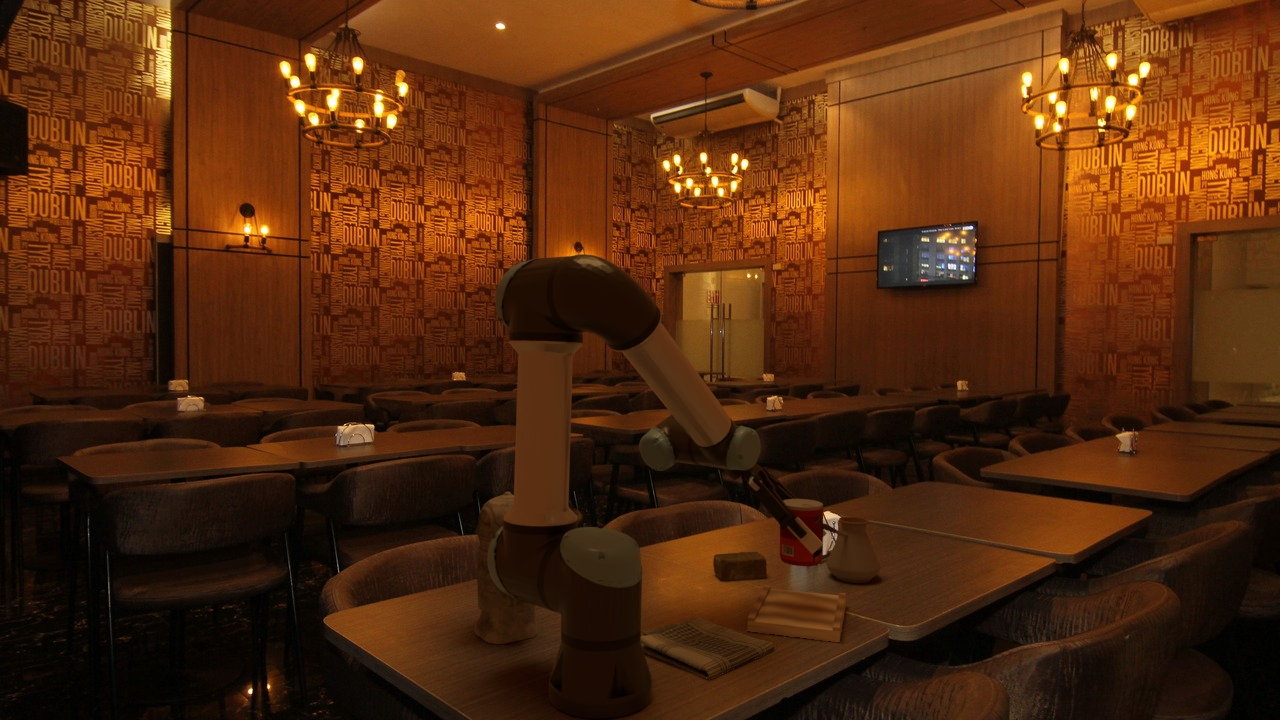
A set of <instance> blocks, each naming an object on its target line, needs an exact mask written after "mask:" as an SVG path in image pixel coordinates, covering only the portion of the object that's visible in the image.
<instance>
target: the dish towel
mask: <svg viewBox="0 0 1280 720" xmlns="http://www.w3.org/2000/svg"><path fill="white" fill-rule="evenodd" d="M641 645H642V648H643V651H644V654H646V655H648V656H651V657H653V656H654V658H656V659H658V658H659V660H660V661H663V660H664V661H663V662H665V661H666V663H668V662H669V663H668V664H671V665H673V664H674V665H673V666H675V665H676V666H675V667H677V666H678V668H679V667H680V668H679V669H682V670H684V669H685V671H687V672H689V671H690V673H691V672H692V673H691V674H694V673H695V674H694V675H696V674H698V675H697V676H699V675H700V676H699V677H701V676H703V677H702V678H703V679H705V678H706V677H707V679H706V680H708V679H710V680H712V678H713V679H715V678H717V677H719V676H718V675H720V676H721V674H722V673H724V674H726V673H728V672H727V671H729V670H731V669H733V668H735V669H737V668H736V667H738V666H740V665H742V664H744V665H746V664H747V663H746V662H748V661H750V662H752V661H751V660H753V659H755V658H757V657H760V656H762V655H764V654H766V655H768V654H770V653H771V652H770V651H772V650H774V649H775V646H774V643H773V642H772V641H768V640H764V639H760V638H755V637H753V636H750V635H747V634H744V633H740V632H738V631H736V630H734V629H731V628H729V627H726V626H722V625H720V624H717V623H714V622H711V621H709V620H708V619H706V618H705V617H699V618H697V617H690V618H688V619H685V620H682V621H681V622H677V623H673V624H671V623H670V624H667V625H664V626H662V627H658V628H655V629H651V630H647V631H646V630H645V631H642V635H641ZM774 651H775V650H774ZM769 652H770V653H769ZM772 652H773V651H772ZM767 653H768V654H767ZM764 656H765V655H764ZM762 657H763V656H762ZM760 658H761V657H760ZM757 659H758V658H757ZM755 660H756V659H755ZM753 661H754V660H753ZM745 663H746V664H745ZM748 663H749V662H748ZM742 666H743V665H742ZM740 667H741V666H740ZM738 668H739V667H738ZM733 670H734V669H733ZM731 671H732V670H731ZM725 672H726V673H725ZM729 672H730V671H729ZM722 675H723V674H722ZM716 676H717V677H716ZM714 677H715V678H714Z"/></svg>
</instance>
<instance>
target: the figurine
mask: <svg viewBox="0 0 1280 720" xmlns="http://www.w3.org/2000/svg"><path fill="white" fill-rule="evenodd" d="M513 505H514V494H512V493H511V492H510V491H505V492H504V493H503V494H501V495H499V496H495V497H493V498H490V499H489V500H488V501H487V502H485V503H483V506H482V508H481V510H480V513H479V515H478V521H477V524H476V525H477V526H476V529H475V531H474V533H475V534H476V536H477V538H478V541H479V546H478V547H477V553H476V555H477V557H476V558H477V565H476V583H477V607H478V609H479V610H481V611H480V615H479V618H478V619H477V620H476V621H475V625H474V634H475V635H476V636H477V637H479V638H480V639H481V640H483V641H484V642H485V643H487V644H488V643H489V644H493V645H494V644H495V645H500V644H501V645H504V644H509V643H513V642H520V641H523V640H526V639H531V638H534V637H535V636H538V635H539V627H538V625H537V624H536V623H535V622H536V621H535V620H536V605H533V604H530V603H526V602H521V601H518V600H516V599H514V598H513V597H512V596H510V595H507V594H506V593H504V592H502V591H501V590H500V589H499V588H498V587H497V586H496V585H495V583H494V582H493V580H492V578H491V576H490V573H489V569H488V561H487V559H488V550H489V546H490V543H491V540H492V539H494V538H495V537H496V535H495V534H496V532H497V531H498V530H499V529H500V528H501V527H502V526H503V518H504V515H505V514H506V513H507V512H508V511H509V510H510V509H511V508H512V507H513Z"/></svg>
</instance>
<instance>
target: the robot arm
mask: <svg viewBox="0 0 1280 720" xmlns="http://www.w3.org/2000/svg"><path fill="white" fill-rule="evenodd" d="M495 310H496V314H497V316H498V318H499V319H501V323H502V325H503V326H504V327H505V328H507V329H508V344H509V345H510V346H511V347H512V348H513V349H514V351H515V352H516V353H517V355H518V356H517V385H516V387H517V388H516V417H515V418H516V419H515V421H516V422H515V425H516V426H515V445H514V446H515V449H514V450H515V451H514V452H515V453H514V480H513V481H514V486H513V489H514V490H513V495H514V505H513V507H512V508H511V509H510V510H509V511H508V512H507V513H506V514H505V515H504V518H503V526H502V527H501V528H500V529H499V530H498V531H497V532H496V534H495V535H496V537H495V538H494V539H492V540H491V543H490V546H489V550H488V559H487V561H488V569H489V573H490V576H491V578H492V580H493V582H494V583H495V585H496V586H497V587H498V588H499V589H500V590H501V591H502V592H504V593H506V594H507V595H510V596H512V597H513V598H514V599H516V600H518V601H521V602H526V603H530V604H533V605H535V607H540V608H541V609H542V608H543V609H545V610H548V611H551V612H554V613H556V614H560V617H561V618H560V646H559V649H558V651H557V653H556V654H557V655H556V657H555V661H554V664H553V667H552V669H551V672H550V676H549V680H548V700H549V702H550V704H551V705H552V706H553V707H554V708H555V709H557V710H558V711H560V712H562V713H565V714H567V715H570V716H574V717H579V718H585V719H586V718H587V719H612V718H619V717H624V716H628V715H630V714H634V713H636V712H639V711H640V710H642V709H644V708H645V707H646V706H648V704H649V703H650V702H651V700H652V698H653V677H652V673H651V671H650V667H649V664H648V661H647V657H646V655H645V653H644V651H643V648H642V645H641V636H642V631H641V630H642V628H641V627H642V593H643V592H642V591H643V589H642V588H643V587H642V585H643V579H642V578H643V565H642V557H641V556H642V554H641V550H640V546H639V544H638V542H637V541H636V540H635V539H634V538H633V537H631V536H630V535H629V534H626V533H624V532H621V531H618V530H616V529H615V530H614V529H611V528H606V527H605V528H599V527H596V526H586V527H585V526H584V527H578V515H577V514H575V512H574V511H573V510H572V509H571V508H570V506H569V497H570V494H569V491H570V490H569V489H570V466H571V465H570V460H571V458H570V457H571V432H572V431H571V430H572V429H571V425H572V424H571V423H572V401H573V400H572V397H573V394H572V393H573V390H572V389H573V366H574V365H573V361H574V355H575V354H576V352H577V351H578V350H579V349H581V348H582V347H583V345H584V333H589V334H591V335H594V336H597V337H598V338H600V339H602V340H603V342H605V343H606V345H607V347H608V348H610V350H612V351H614V352H618V353H622V354H623V356H624V357H626V359H627V360H628V362H629V363H630V364H631V365H632V366H633V368H634V369H635V370H636V372H637V373H638V374H639V375H640V376H641V378H642V379H643V381H644V382H645V383H646V384H647V385H648V386H649V388H650V389H651V390H652V391H653V393H654V394H655V395H656V396H657V398H658V399H659V400H660V401H661V403H662V404H663V405H664V407H666V409H667V410H668V413H670V414H669V415H668V416H667V417H666V418H664V419H663V420H662V421H660V422H658V423H657V424H656V425H655V426H653V427H651V428H650V429H649V431H647V433H645V434H644V435H643V436H641V439H640V440H639V442H638V443H639V444H638V449H639V453H640V457H641V458H642V460H643V461H644V463H645V464H646V465H647V466H648V467H649V468H650V469H653V470H655V471H660V472H662V471H665V470H668V469H669V468H671V467H673V466H674V465H675V464H677V463H681V464H689V465H697V466H705V467H712V468H718V469H722V470H723V471H724V472H725V473H726V475H728V476H729V477H730V479H732V481H737V480H738V479H739V478H741V476H743V478H744V479H745V480H746V481H747V482H746V483H747V484H746V485H745V488H746V489H747V490H748V491H750V493H752V495H753V496H755V498H756V499H757V500H758V501H759V502H760V504H761V505H762V506H763V507H764V508H765V509H766V510H767V511H768V512H769V514H770V515H771V516H772V517H773V518H774V520H776V522H778V524H779V526H780V525H781V528H782V529H783V530H784V529H785V528H786V527H787V528H788V529H789V530H790V531H791V532H792V533H793V534H794V535H795V536H796V537H797V539H798V540H799V541H800V542H801V543H802V544H803V545H804V546H805V547H806V548H807V549H808V550H809V551H810V552H811V553H812V554H813V553H814V552H815V551H817V550H818V549H819V548H820V547H821V546H822V545H823V546H824V542H823V543H822V542H821V541H820V540H819V538H818V537H817V536H816V535H815V534H814V533H813V532H812V531H811V530H810V529H809V528H808V527H807V526H806V525H805V524H804V523H803V522H802V520H801V519H800V518H799V517H797V518H796V516H795V515H794V514H793V513H792V512H791V510H790V509H789V508H788V507H787V505H786V504H785V503H784V501H783V500H787V499H798V497H797V496H796V495H795V494H793V492H792V491H791V490H790V489H788V488H787V486H786V485H785V484H783V482H781V481H780V480H779V479H778V477H776V476H775V475H774V474H773V472H771V470H770V469H769V468H768V467H767V466H764V467H761V466H760V464H758V463H757V462H758V461H759V459H761V457H762V452H761V439H760V436H759V434H758V432H757V431H756V430H755V429H753V428H752V427H747V426H744V425H740V426H739V425H737V424H736V423H735V422H734V420H733V419H732V417H730V415H729V414H728V413H727V411H726V410H725V408H724V407H723V405H722V404H721V403H720V401H719V400H718V399H717V397H716V395H714V393H713V392H712V390H711V389H710V388H709V386H708V385H707V384H706V382H705V381H704V380H703V378H702V377H701V375H700V374H699V372H698V371H697V369H696V368H695V367H694V365H693V364H692V363H691V362H690V361H689V359H688V357H687V356H686V355H685V353H684V352H683V351H682V349H681V348H680V347H679V345H678V344H677V342H676V341H675V340H674V339H673V337H672V335H670V333H669V332H668V330H667V329H666V327H665V326H664V325H663V323H662V311H661V309H660V307H659V306H658V304H656V302H655V301H654V299H652V298H651V296H650V295H649V293H648V292H647V291H646V290H645V288H644V287H642V286H641V285H640V284H639V283H638V282H637V280H635V279H634V278H633V277H632V276H631V275H629V274H628V273H627V272H626V271H625V270H623V269H622V268H621V267H620V266H618V265H616V264H614V263H613V262H612V261H609V260H608V259H605V258H604V257H601V256H597V255H594V254H585V253H583V254H575V255H574V254H573V255H568V256H567V255H566V256H553V257H539V258H537V257H536V258H533V259H530V260H527V261H522V262H519V263H516V264H514V265H513V266H511V268H509V269H508V270H507V271H506V272H505V273H504V274H503V276H502V277H501V279H500V281H499V282H498V285H497V287H496V292H495ZM827 532H828V531H827V530H824V529H823V538H824V537H825V536H826V535H827V534H828V533H827Z"/></svg>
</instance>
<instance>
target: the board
mask: <svg viewBox="0 0 1280 720" xmlns="http://www.w3.org/2000/svg"><path fill="white" fill-rule="evenodd" d="M846 599H847V593H846V592H839V593H838V594H828V593H818V592H807V591H798V590H797V591H796V590H789V589H776V588H771V585H767V584H764V586H763V587H762V589H761V591H760V593H759V595H758V597H757V599H756V601H755V602H754V604H753V606H752V609H751V610H750V612H749V614H748V616H747V628H746V629H747V631H750V632H749V633H752V632H759V633H758V634H760V633H766V634H765V635H769V634H775V635H774V636H777V635H783V636H782V637H786V636H789V637H788V638H794V637H800V638H799V639H803V638H807V639H806V640H811V639H814V640H813V641H820V640H822V642H828V641H831V642H830V643H837V642H841V638H842V637H841V636H842V631H843V624H844V619H845V612H846V607H847V600H846Z"/></svg>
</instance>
